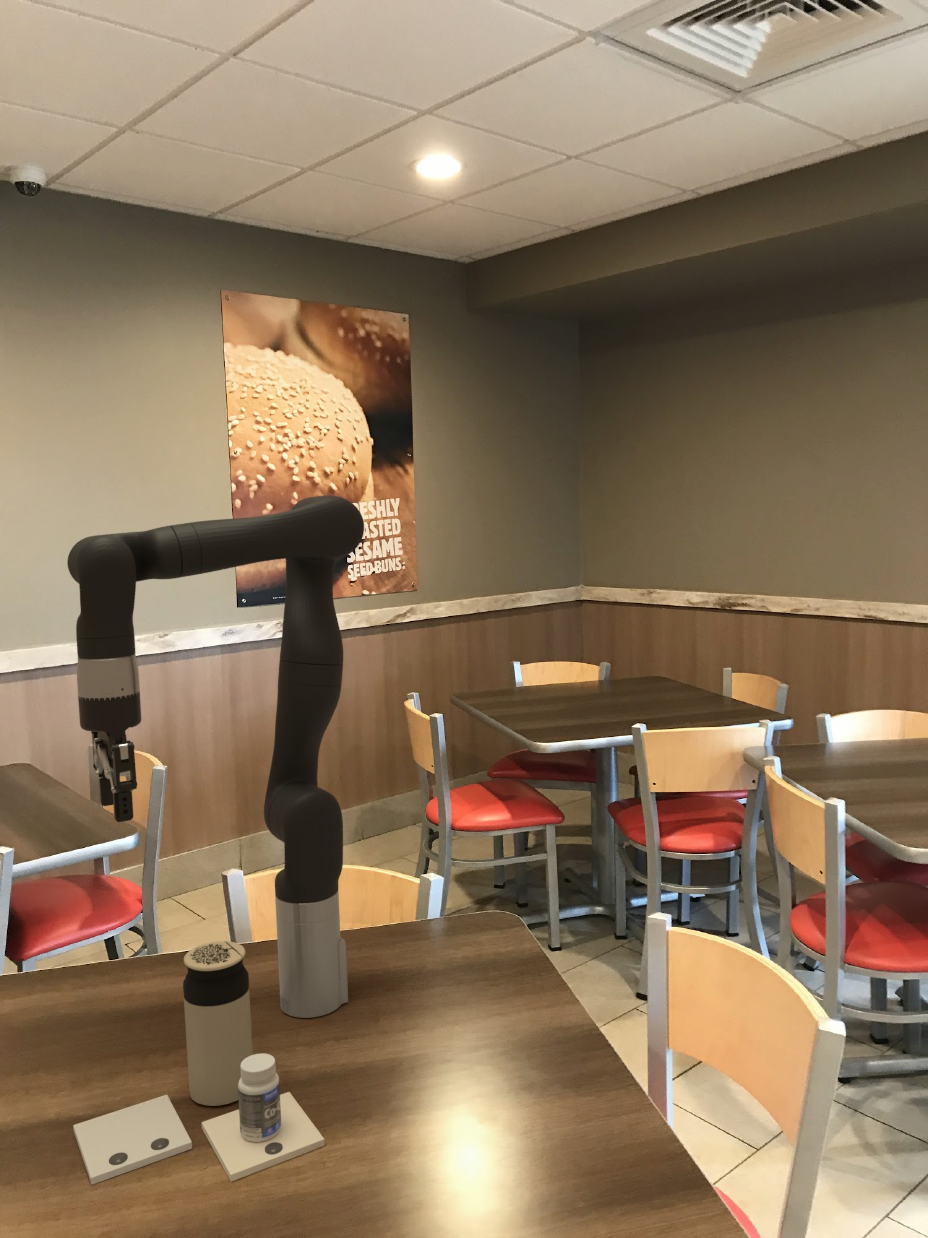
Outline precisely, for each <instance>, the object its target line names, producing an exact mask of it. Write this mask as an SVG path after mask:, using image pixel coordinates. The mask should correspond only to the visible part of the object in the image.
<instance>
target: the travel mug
mask: <svg viewBox="0 0 928 1238" xmlns="http://www.w3.org/2000/svg"><path fill="white" fill-rule="evenodd" d="M245 955H246V949H245V947H244V946H243V945H242V944H239V943H238V942H234V941H227V940H226V941H224V940H222V941H219V940H218V941H212V942H211V941H210V942H207V943H203V944H199V945H197V946H195V947H193V948H192V949H190V950H189V951H188V952H186V954H185V955H184V957H183V963H184V965H185V966H186V968H187V973H186V975H185V977H184V979H183V982H182V987H183V1005H184V1021H185V1024H184V1025H185V1036H186V1037H185V1039H186V1056H187V1057H186V1058H187V1071H188V1073H187V1074H188V1075H187V1076H188V1086H189V1087H188V1089H189V1091H188V1092H189V1097H190V1098H191V1100H192V1101H194V1102H195V1103H197V1104H199V1105H204V1106H208V1107H209V1106H210V1107H211V1106H212V1107H213V1106H219V1107H220V1106H225V1105H228V1104H231V1103H234V1102H237V1101H239V1097H238V1082H239V1080H240V1078H241V1070H240V1065H241V1062H242V1061H243V1060H244V1059H245V1058H247V1057H249V1056H251V1055H254V1054H253V1053H254V1052H253V1037H252V1035H253V1034H252V1033H253V1032H252V1016H251V1000H250V999H251V997H250V995H251V994H250V978H249V977H250V975H249V971H248V970H247V968H246V966H245V965H244V963H243V962H244V957H245Z"/></svg>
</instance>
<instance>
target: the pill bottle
mask: <svg viewBox="0 0 928 1238" xmlns="http://www.w3.org/2000/svg"><path fill="white" fill-rule="evenodd" d="M240 1070H241V1078H240V1080H239V1082H238V1097H239V1100H238V1109H239V1117H240V1133H241V1136H242V1137H243V1138H244V1139H246V1140H248V1141H253V1142H261V1141H266V1140H268V1139H271V1138H272V1137H274V1136H275V1135H276V1134H277V1133H278V1132H279V1131H280V1129H281V1109H280V1108H281V1107H280V1095H281V1091H280V1090H281V1087H280V1085H281V1083H280V1077H279V1074H278V1073H277V1065H276V1059H275V1057H274V1056H273V1055H271V1054H269V1053H256V1054H253V1055H251V1056H249V1057H247V1058H245V1059H244V1060H243V1061H242V1062H241V1065H240Z"/></svg>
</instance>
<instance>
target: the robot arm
mask: <svg viewBox="0 0 928 1238" xmlns="http://www.w3.org/2000/svg"><path fill="white" fill-rule="evenodd" d="M364 532H365V521H364V517H363V516H362V513H361V512H360V510H359V509H358V506H356V505H355V504H354V503H353V502H351V501H350V500H348V499H347V498H344V497H342V496H338V495H317V496H310V497H305V498H303V499H301V500H299V501H298V502H296V503H295V504H294V505H293V506H292V508H291V509H290V510H286V511H283V512H279V513H278V512H277V513H271V514H264V515H259V516H250V517H238V518H237V517H236V518H223V519H222V518H221V519H210V520H201V521H200V520H199V521H193V522H183V523H177V524H171V525H165V526H164V525H163V526H160V527H156V528H152V529H148V530H144V531H143V530H142V531H131V532H130V531H128V532H119V533H117V532H116V533H109V534H107V533H106V534H98V535H91V536H86V537H84V538H82V539H80V540H79V541H77V542H76V543H75V544H74V545H73V546H72V548H71V549H70V551H69V553H68V555H67V563H66V564H67V568H68V572H69V574H70V576H71V578H73V580H74V581H75V582H76V583H77V584H78V585H79V587H78V588H79V600H80V601H79V605H80V614H79V615H78V617H77V620H76V624H75V630H76V632H75V634H76V635H75V636H76V651H77V653H76V654H77V668H76V684H77V685H76V686H77V701H78V713H79V714H78V715H79V717H78V718H79V727H80V728H81V729H82V730H84V731H87V732H91V740H92V758H93V759H92V760H93V764H92V768H93V770H94V771H95V775H96V777H97V778H98V785H99V802H100V804H101V805H102V807H107V806H108V807H109V806H113V817H114V818H113V819H114V820H115V821H116V822H117V823H122V822H128V821H131V820H133V818H134V804H133V802H134V801H133V791H134V790H136V789H137V787H138V782H137V771H136V758H135V757H136V756H135V754H136V753H135V744H134V742H133V741H131V740H127V734H126V731H127V730H129V728H134V727H137V726H139V725H140V724H141V722H142V706H141V705H142V704H141V691H140V690H141V689H140V675H139V667H138V663H137V656H136V638H135V637H136V636H135V626H134V611H135V602H136V601H135V600H136V591H137V590H136V588H137V582H141V581H148V580H172V579H180V578H185V577H191V576H196V575H203V574H208V573H212V572H218V571H222V570H227V569H233V568H236V567H242V566H246V565H252V564H255V563H262V562H263V563H264V562H267V561H276V560H285V576H286V577H285V582H286V583H285V599H284V601H285V602H284V609H283V619H282V632H281V643H280V644H281V645H280V652H279V661H278V663H279V664H278V678H277V698H276V712H275V713H276V714H275V721H274V723H275V725H274V726H275V727H274V729H275V730H274V742H273V743H274V744H273V752H272V758H271V763H270V764H271V765H270V769H269V775H268V780H267V785H266V791H265V797H264V805H263V817H264V823H265V825H266V828H267V830H268V831H269V832H270V834H271V835H272V836H273V837H274V838H276V839H277V840H279V841H280V842H282V843H283V845H284V868H282V869H281V870H280V871H278V873H277V874H276V876H275V878H274V894H275V895H274V896H275V899H274V900H275V917H276V918H275V919H276V920H275V921H276V938H277V940H276V941H277V942H276V943H277V959H278V982H279V998H280V999H279V1000H280V1009H281V1011H282V1012H283V1013H284V1014H286V1015H289V1016H290V1017H295V1018H301V1019H303V1018H304V1019H305V1018H306V1019H309V1018H310V1019H311V1018H318V1017H322V1016H325V1015H328V1014H331V1013H333V1012H334V1011H337V1009H339V1007H341V1006H342V1005H344V1004H346V1003H349V991H348V990H349V989H348V988H349V987H348V985H349V984H348V965H347V964H348V962H347V943H346V940H345V939H344V938H343V937H341V920H340V919H341V917H340V916H341V915H340V897H339V895H340V892H339V879H340V876H341V874H342V871H343V866H344V865H343V864H344V822H343V821H344V820H343V812H342V809H341V805H340V803H339V801H338V799H337V798H336V797H335V796H334V794H332V793H330V792H329V791H327V790H326V789H323V788H321V787H319V786H318V770H319V769H318V767H319V766H318V765H319V755H320V747H321V744H322V741H323V737H324V734H325V732H327V729H328V726H329V725H330V722H331V721H332V718H333V717H334V716H333V715H334V714H335V711H336V709H337V706H338V703H339V700H340V697H341V691H342V682H343V672H344V671H343V670H344V644H343V637H342V633H341V629H340V626H339V619H338V617H337V612H336V607H335V603H334V577H335V566H336V560H338V559H343V558H344V557H346V556H349V555H350V554H351V553H353V552H354V551H355V550H356V549H357V548H358V547H359V545H360V544H361V542H362V540H363V538H364ZM121 777H125V779H126V780H121Z"/></svg>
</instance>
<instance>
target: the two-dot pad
mask: <svg viewBox="0 0 928 1238" xmlns="http://www.w3.org/2000/svg"><path fill="white" fill-rule="evenodd" d="M180 1118H181V1117H179V1115H178V1112H177V1111H176V1109H175V1107H174V1105H173V1103H172V1102H171V1099H170V1097H169V1095H168V1094H164V1095H161V1096H158V1097H155V1098H152V1099H149V1100H146V1101H143V1102H140V1103H137V1104H133V1105H131V1106H130V1105H129V1106H128V1107H125V1108H121V1109H117V1110H115V1111H113V1112H112V1111H111V1112H110V1113H105V1114H103V1115H100V1116H97V1117H93V1118H91V1119H87V1120H85V1121H82V1122H79V1123H76V1124H74V1125H72V1129H73V1134H74V1136H75V1140H76V1143H77V1146H78V1148H79V1151H80V1152H79V1153H80V1154H81V1158H82V1160H83V1164H84V1166H85V1169H86V1173H87V1175H88V1178H89V1183H90V1184H91V1185H92V1186H93V1185H96V1184H98V1183H100V1182H104V1181H106V1180H108V1179H112V1178H115V1177H118V1176H119V1175H123V1174H125V1173H129V1172H131V1171H134V1170H136V1169H139V1168H142V1167H145V1166H148V1165H150V1164H153V1163H156V1162H159V1161H162V1160H164V1159H167V1158H170V1157H172V1156H175V1155H178V1154H181V1153H183V1152H186V1151H190V1150H191V1149H193V1142H192V1140H191V1137H190V1135H189V1134H188V1132H187V1130H186V1128H185V1126H184V1124H183V1122H182V1120H181V1119H180Z"/></svg>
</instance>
